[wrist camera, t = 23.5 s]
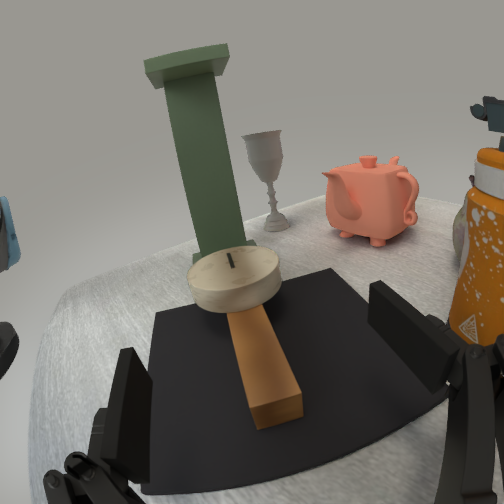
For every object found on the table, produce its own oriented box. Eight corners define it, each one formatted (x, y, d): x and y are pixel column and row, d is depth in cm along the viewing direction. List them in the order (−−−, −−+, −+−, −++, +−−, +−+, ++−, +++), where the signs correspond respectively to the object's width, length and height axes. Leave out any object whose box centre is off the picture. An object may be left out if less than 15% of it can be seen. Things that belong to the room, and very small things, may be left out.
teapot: (329, 257, 37) (320, 165, 32) (327, 219, 52) (320, 154, 47) (428, 250, 33) (430, 161, 28) (400, 214, 48) (397, 150, 43)
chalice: (252, 233, 51) (234, 137, 44) (265, 221, 57) (250, 135, 50) (290, 233, 48) (274, 130, 41) (299, 220, 54) (286, 129, 47)
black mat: (144, 495, 11) (140, 492, 11) (157, 316, 31) (155, 312, 31) (450, 395, 14) (453, 391, 13) (331, 271, 34) (330, 267, 33)
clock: (215, 439, 15) (186, 393, 13) (199, 298, 32) (187, 256, 30) (343, 402, 16) (348, 347, 14) (272, 280, 33) (265, 237, 31)
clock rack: (195, 289, 36) (143, 60, 24) (194, 262, 44) (153, 77, 32) (268, 271, 37) (227, 43, 25) (254, 247, 45) (219, 63, 33)
